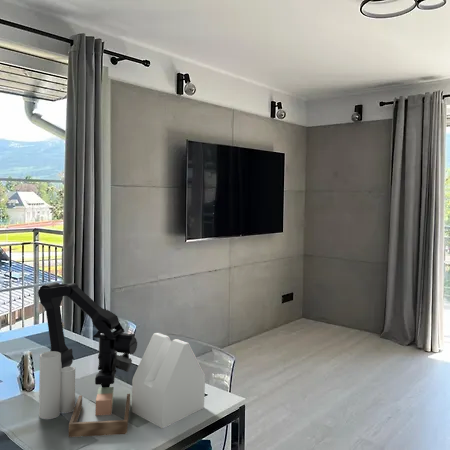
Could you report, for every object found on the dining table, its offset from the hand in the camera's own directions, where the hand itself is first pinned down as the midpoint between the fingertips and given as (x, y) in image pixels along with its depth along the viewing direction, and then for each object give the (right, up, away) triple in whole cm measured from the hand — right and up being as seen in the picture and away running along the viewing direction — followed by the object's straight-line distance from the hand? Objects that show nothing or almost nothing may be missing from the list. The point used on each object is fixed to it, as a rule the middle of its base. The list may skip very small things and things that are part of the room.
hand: (106, 393), depth 157 cm
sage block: (+1, -2, -4) cm, 5 cm away
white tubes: (-14, -3, -10) cm, 17 cm away
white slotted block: (+23, -4, -6) cm, 24 cm away
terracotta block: (+1, -3, -9) cm, 9 cm away
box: (+2, -3, -14) cm, 14 cm away
